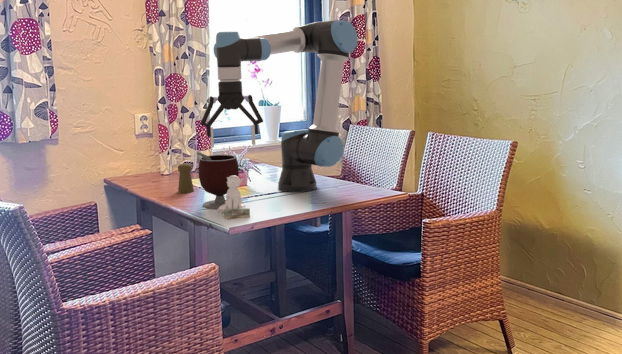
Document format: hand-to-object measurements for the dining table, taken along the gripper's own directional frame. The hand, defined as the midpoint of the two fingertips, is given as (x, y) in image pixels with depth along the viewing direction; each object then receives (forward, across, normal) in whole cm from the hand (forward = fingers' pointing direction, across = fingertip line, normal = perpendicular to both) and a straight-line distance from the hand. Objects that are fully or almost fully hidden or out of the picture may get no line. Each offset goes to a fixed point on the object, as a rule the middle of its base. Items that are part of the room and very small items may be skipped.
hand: (233, 145), depth 207 cm
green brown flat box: (+23, +1, +3) cm, 23 cm away
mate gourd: (+23, +5, -12) cm, 26 cm away
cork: (+23, +15, -40) cm, 48 cm away
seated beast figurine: (+22, +1, +1) cm, 22 cm away
